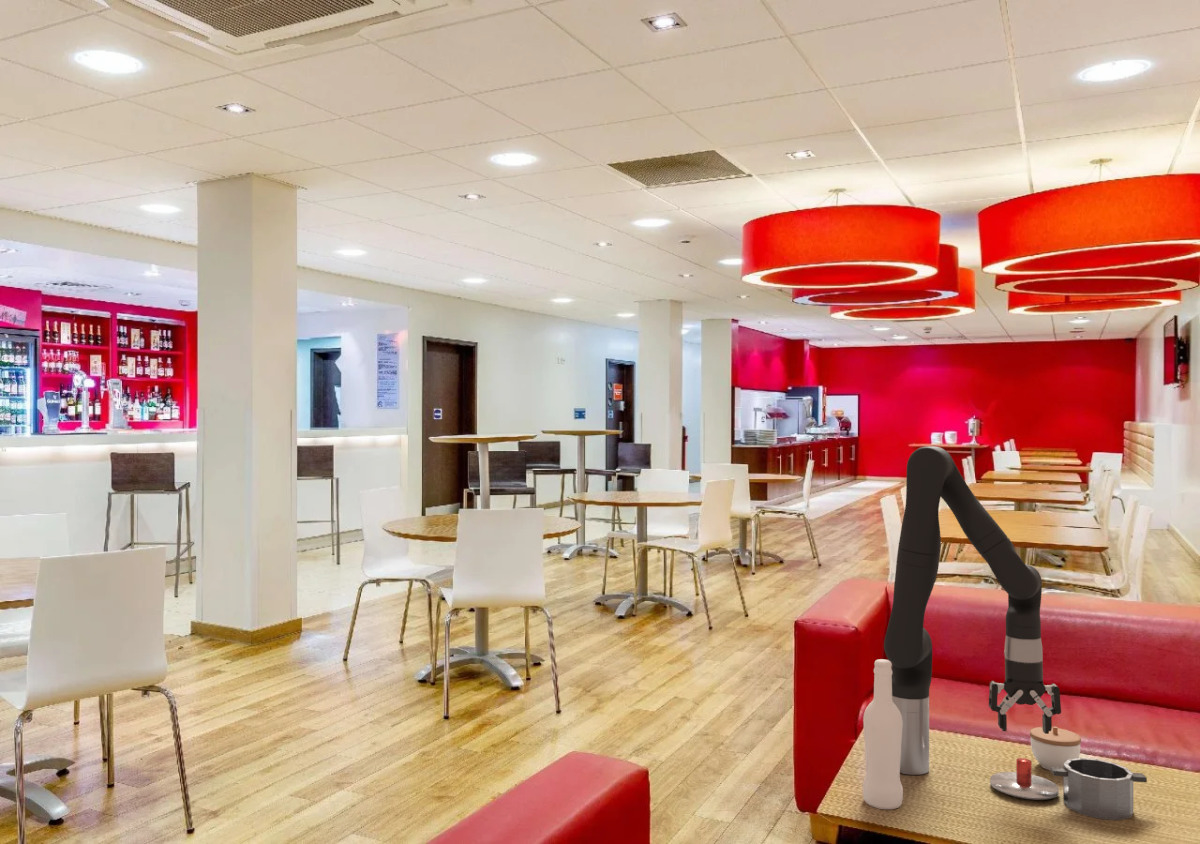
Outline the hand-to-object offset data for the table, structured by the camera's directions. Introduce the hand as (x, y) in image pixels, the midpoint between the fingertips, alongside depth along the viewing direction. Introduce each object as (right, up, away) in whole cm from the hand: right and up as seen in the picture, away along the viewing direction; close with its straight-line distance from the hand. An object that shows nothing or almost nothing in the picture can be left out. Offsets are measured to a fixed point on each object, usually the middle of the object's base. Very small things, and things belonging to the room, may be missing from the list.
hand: (1024, 731), depth 200 cm
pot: (+11, -13, -8) cm, 19 cm away
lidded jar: (+14, -14, +15) cm, 24 cm away
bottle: (-33, -13, -7) cm, 36 cm away
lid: (0, -13, 0) cm, 13 cm away
